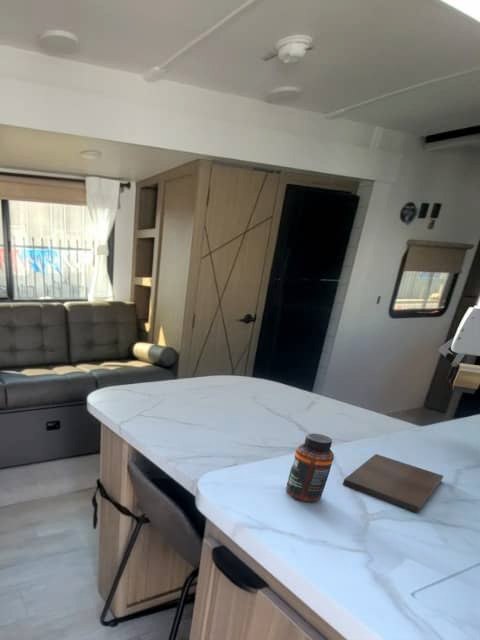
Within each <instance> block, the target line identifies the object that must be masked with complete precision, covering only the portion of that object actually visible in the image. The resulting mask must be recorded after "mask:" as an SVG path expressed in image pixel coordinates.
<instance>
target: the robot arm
mask: <svg viewBox="0 0 480 640" xmlns="http://www.w3.org/2000/svg"><path fill="white" fill-rule="evenodd" d="M476 298H477V299H476V301H475V303H474V306H469V307H468V308H467V310H466V312H465V313H464V315H463V316H462V319H461V321H460V323H459V325H458V327H457V330H456V332H455V334H454V336H453V337H452V338H451V339H450V340H448V341H447V342H445V343H444V344H443V345H441V346H440V347H439V348H438V352H439V353H440V354H441V355H443V357H445V359H447V361H448V362H449V363H450V365H451V367H450V370H449V372H448V375H447V377H446V379H447V380H449V382H448V383H449V384H450V385H453V383H454V380H455V378H456V375H457V373H458V370H459V367H460V366H459V365H460V363H461V361H462V360H463V358H464V357H465V356H466V355H468V356H469V355H470V356H477V357H480V292H479V293H478V296H477V297H476ZM449 349H450V350H451V351H452V352H453V353H456V354H455V355H454V354H453V353H452V352H451V351H450V350H449ZM478 389H480V384H479V386H478Z"/></svg>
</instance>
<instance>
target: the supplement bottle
mask: <svg viewBox="0 0 480 640" xmlns="http://www.w3.org/2000/svg"><path fill="white" fill-rule="evenodd" d="M332 443H333V439H332V438H331V437H330V436H328V435H325V434H321V433H313V432H312V433H307V434H306V436H305V439H304V443H302V444H300V445H298V446H297V447H296V449H295V452H294V457H293V460H292V464H291V467H290V471H289V474H288V478H287V482H286V486H285V491H286V493H287V494H288V495H289V496H291V497H292V498H293V499H296V500H299V501H302V502H305V503H306V502H307V503H313V502H314V503H315V502H318V501H320V500H321V499H322V496H323V494H324V491H325V487H326V484H327V481H328V478H329V475H330V472H331V468H332V465H333V462H334V458H335V455H334V452H333V451H332V450H331V447H332Z"/></svg>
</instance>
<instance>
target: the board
mask: <svg viewBox="0 0 480 640" xmlns="http://www.w3.org/2000/svg"><path fill="white" fill-rule="evenodd" d="M443 479H444V475H443V474H440V473H437V472H434V471H430V470H426V469H424V468H421V467H417V466H416V465H411V464H408V463H405V462H403V461H399V460H396V459H392V458H389V457H387V456H384V455H381V454H377V453H375V454H374V455H372V456H371V457H370V458H369V459H367V460H366V461H365V462H363V464H361V465H360V466H359V467H358V468H356V469H355V470H354V471H352V472H351V473H350V474H349V475H347V477H345V478H344V480H343V481H342V485H343V486H346V487H348V488H351V489H354V490H356V491H359V492H362V493H364V494H365V495H366V494H367V495H369V496H371V497H374V498H376V499H379V500H382V501H385V502H387V503H390V504H392V505H395V506H397V507H400V508H402V509H405V510H408V511H410V512H413V513H415V514H417V513H419V511H420V510H421V508H422V507H423V506H424V504H425V503H426V502H427V500H429V498H430V496H431V495H432V494H433V493H434V492H435V490H436V489H437V487H438V486H439V485H440V483H442V481H443Z"/></svg>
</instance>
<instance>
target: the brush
mask: <svg viewBox="0 0 480 640" xmlns="http://www.w3.org/2000/svg"><path fill="white" fill-rule="evenodd" d="M459 366H460V367H459V370H458V373H457V375H456V378H455V380H454V383H452V389H451V390H452V391H453V392H454V391H455V392H460V393H466V394H473V395H474V394H475V392H476V390H478V389H479V388H478V386H479V384H480V365H476V364H469V363H463V362H460V365H459Z"/></svg>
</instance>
